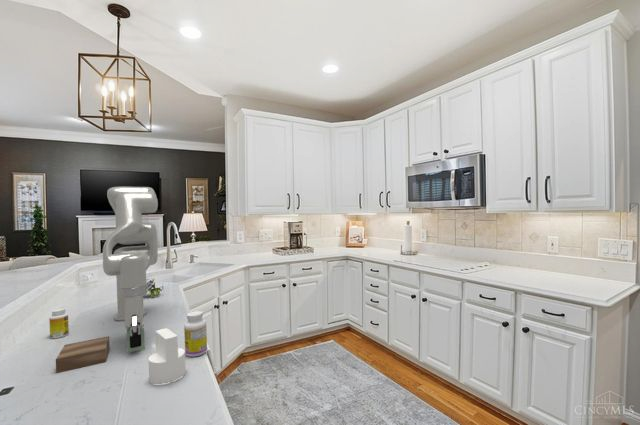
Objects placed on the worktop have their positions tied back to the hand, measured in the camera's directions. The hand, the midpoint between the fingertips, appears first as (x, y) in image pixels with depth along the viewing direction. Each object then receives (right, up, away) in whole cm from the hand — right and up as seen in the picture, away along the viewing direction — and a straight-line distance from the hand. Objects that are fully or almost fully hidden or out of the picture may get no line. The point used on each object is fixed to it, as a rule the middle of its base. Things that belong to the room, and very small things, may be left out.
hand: (136, 341), depth 105 cm
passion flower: (-33, -4, +70) cm, 77 cm away
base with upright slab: (+21, -2, -19) cm, 28 cm away
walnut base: (-12, -3, -7) cm, 14 cm away
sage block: (0, -2, 0) cm, 2 cm away
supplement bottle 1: (-38, -4, +14) cm, 41 cm away
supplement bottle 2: (+23, -2, -5) cm, 23 cm away
